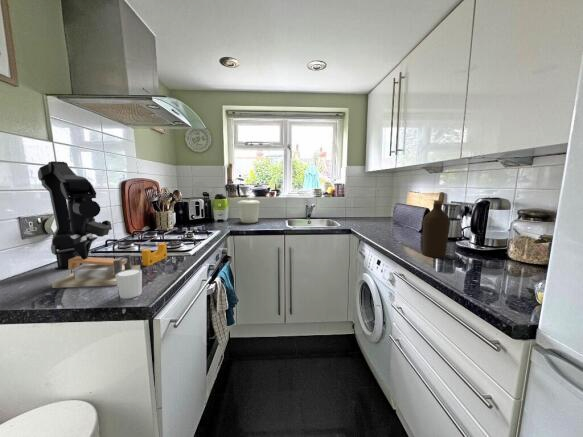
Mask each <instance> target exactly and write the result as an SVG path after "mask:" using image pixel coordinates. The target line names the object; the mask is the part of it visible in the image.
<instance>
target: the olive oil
mask: <svg viewBox="0 0 583 437" xmlns="http://www.w3.org/2000/svg"><path fill="white" fill-rule="evenodd" d="M432 205H433V207H432V210H430V211H429V212H428V213H427V214H425V216H424V218H423V220H422V249H421V250H422V251H421V253H422V255H423V256H424V257H428V258H434V259H436V258H437V259H443V258H446V256H447V247H448V239H449V233H450V225H451V219H450V217H449V216H448V215H447V213H446V212H445V211H444V210H443V200H440V199H439V200H438V199H436V200H433V204H432Z"/></svg>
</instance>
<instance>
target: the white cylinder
mask: <svg viewBox="0 0 583 437" xmlns="http://www.w3.org/2000/svg"><path fill="white" fill-rule="evenodd" d="M142 273H143V271H142V269H130V270H125V271H121V272H119V273H117V274H116V275H115V277H116V281H117V285H116V286H117V289H118V293H119V297H120V299H133V298H135V297H136V298H137V297H138V296H140V295H141V294H142V290H143V287H142V283H143V281H142V280H143V274H142Z"/></svg>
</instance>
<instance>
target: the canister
mask: <svg viewBox="0 0 583 437" xmlns="http://www.w3.org/2000/svg"><path fill="white" fill-rule="evenodd" d="M237 204H238V205H237V206H238V211H239V212H238V213H239V218H240V222H241V223H242V224H255V223H257V222H258V221H259V213H260V204H261V202H260V201H259V200H257V199H252V197H251V196H246V199H243V200H239V201H237Z"/></svg>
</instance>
